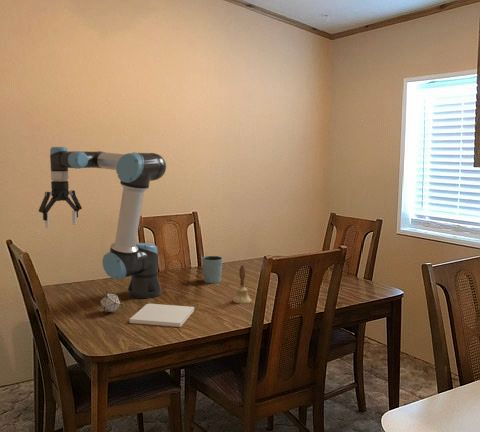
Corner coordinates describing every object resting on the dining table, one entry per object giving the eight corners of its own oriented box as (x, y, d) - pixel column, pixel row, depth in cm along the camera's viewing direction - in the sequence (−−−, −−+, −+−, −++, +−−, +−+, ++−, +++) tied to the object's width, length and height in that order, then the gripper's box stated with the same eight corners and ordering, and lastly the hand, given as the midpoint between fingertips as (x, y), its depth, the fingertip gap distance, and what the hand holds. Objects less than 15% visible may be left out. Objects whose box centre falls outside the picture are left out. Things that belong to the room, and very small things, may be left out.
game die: (115, 320, 206) (130, 300, 206) (104, 319, 198) (119, 298, 198) (101, 306, 209) (116, 287, 209) (89, 304, 201) (105, 284, 201)
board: (194, 310, 209) (194, 306, 208) (180, 327, 189) (180, 323, 189) (147, 306, 212) (147, 303, 212) (129, 322, 192) (129, 319, 192)
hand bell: (245, 304, 218) (246, 268, 216) (229, 301, 222) (229, 265, 220) (255, 300, 225) (255, 264, 223) (239, 297, 229) (239, 262, 227)
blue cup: (226, 280, 257) (226, 257, 255) (214, 285, 248) (215, 260, 247) (209, 277, 262) (210, 254, 260) (198, 281, 254) (198, 258, 252)
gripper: (80, 179, 246) (81, 222, 248) (29, 181, 228) (31, 227, 230) (88, 180, 241) (89, 224, 243) (37, 181, 223) (39, 229, 225)
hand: (61, 226), depth 237 cm, fingers open, 13 cm apart
